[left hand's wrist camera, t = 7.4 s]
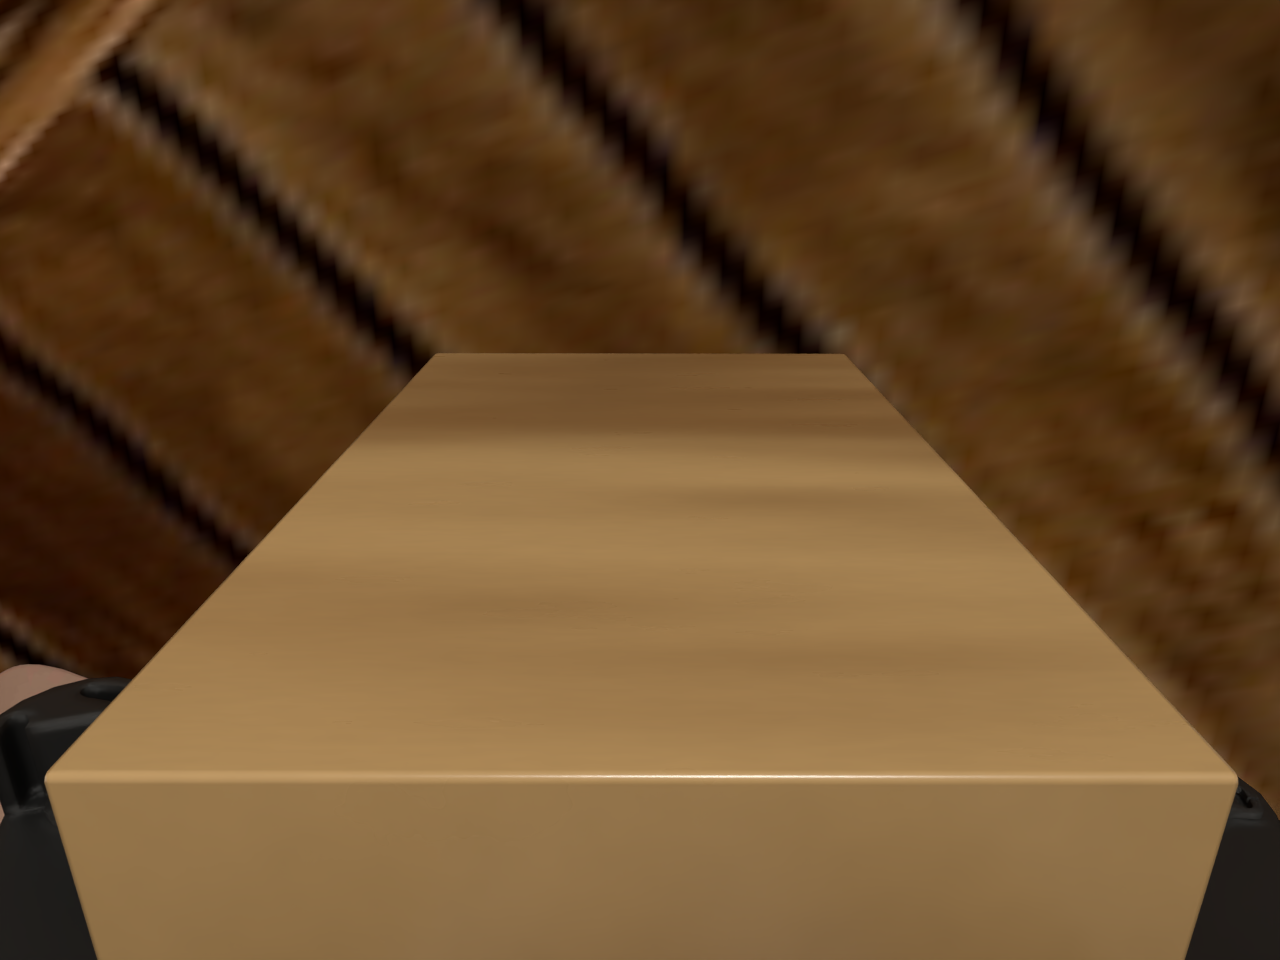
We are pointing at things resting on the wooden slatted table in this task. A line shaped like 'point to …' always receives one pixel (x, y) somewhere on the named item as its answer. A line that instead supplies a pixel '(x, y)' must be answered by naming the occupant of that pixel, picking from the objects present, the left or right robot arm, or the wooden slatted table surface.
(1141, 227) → the wooden slatted table surface
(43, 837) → the left robot arm
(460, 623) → the box
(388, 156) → the wooden slatted table surface
